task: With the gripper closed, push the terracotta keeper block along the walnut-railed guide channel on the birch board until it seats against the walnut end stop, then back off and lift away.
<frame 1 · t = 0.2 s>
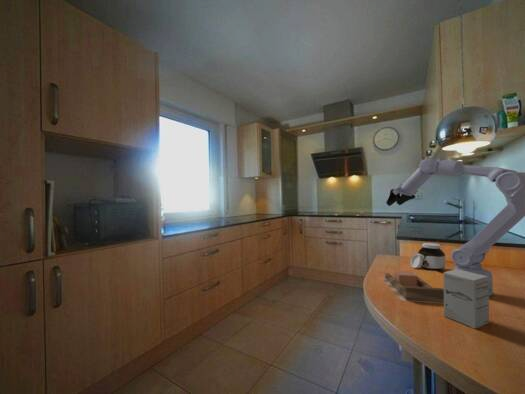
hand: (393, 204, 107), 31 cm above the counter, tool tilted 45°, fingers open, 7 cm apart
channel: (409, 289, 84), on the counter
spread jar: (426, 269, 108), on the counter
keeper: (405, 283, 88), point 1 cm above the counter, touching channel
supplement box: (466, 320, 63), on the counter
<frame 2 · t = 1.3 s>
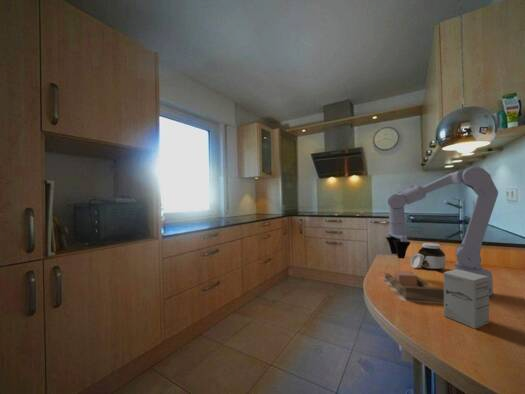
hand: (397, 255, 95), 9 cm above the counter, tool pointing down, fingers open, 7 cm apart
nothing on the counter moved.
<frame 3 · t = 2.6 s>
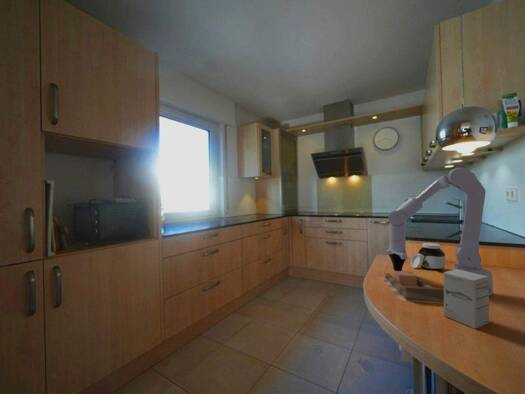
hand: (397, 272, 95), 3 cm above the counter, tool pointing down, fingers closed
nothing on the counter moved.
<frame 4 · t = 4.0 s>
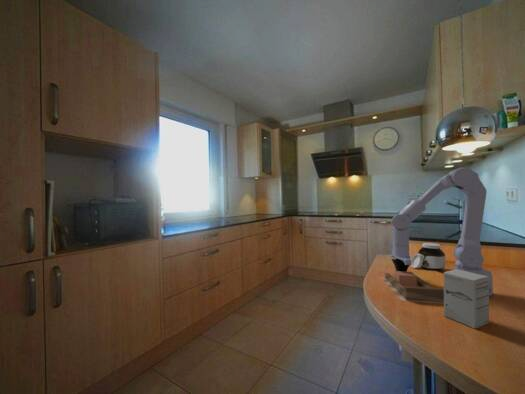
hand: (401, 278, 92), 1 cm above the counter, tool pointing down, fingers closed
keeper: (405, 283, 88), point 1 cm above the counter, touching gripper
everything else where it was.
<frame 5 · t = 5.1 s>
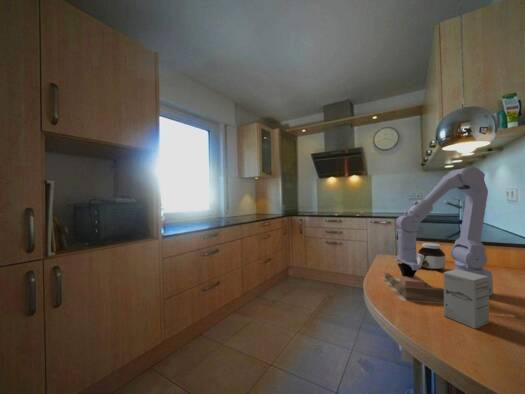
hand: (407, 283, 85), 1 cm above the counter, tool pointing down, fingers closed
keeper: (412, 290, 82), point 1 cm above the counter, touching gripper
everything else where it was.
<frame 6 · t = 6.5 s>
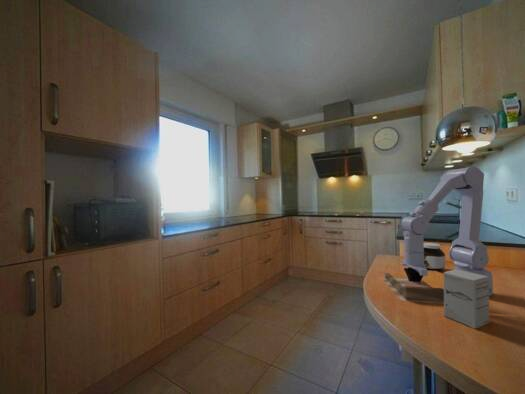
hand: (414, 289, 80), 1 cm above the counter, tool pointing down, fingers closed
keeper: (418, 296, 77), point 1 cm above the counter, touching channel, gripper
everything else where it was.
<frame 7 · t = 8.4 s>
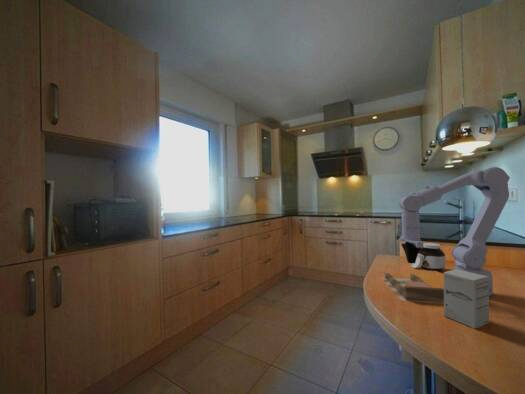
hand: (411, 262, 87), 9 cm above the counter, tool pointing down, fingers closed
keeper: (418, 296, 77), point 1 cm above the counter, touching channel
everything else where it was.
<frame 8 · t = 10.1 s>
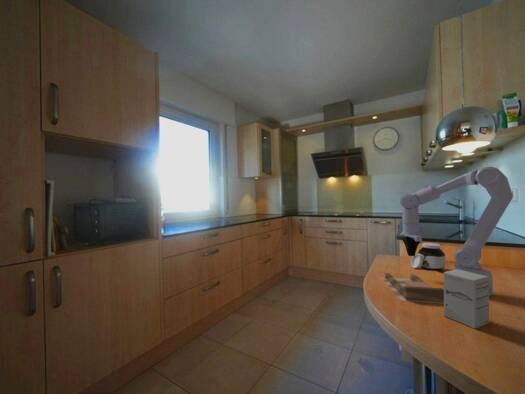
hand: (411, 255, 95), 9 cm above the counter, tool pointing down, fingers closed
nothing on the counter moved.
at the end: keeper 0.3 cm from the target spot, point 0.6 cm above the counter; keeper tilted 0°; keeper moved 11.5 cm from its start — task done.
